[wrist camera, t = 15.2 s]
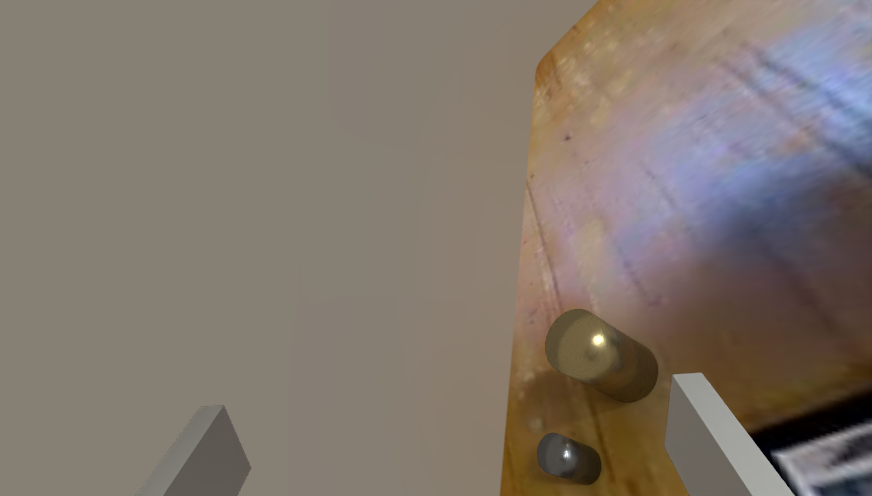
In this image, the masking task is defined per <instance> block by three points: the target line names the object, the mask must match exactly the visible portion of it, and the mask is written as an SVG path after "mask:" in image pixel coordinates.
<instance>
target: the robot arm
mask: <svg viewBox="0 0 872 496" xmlns="http://www.w3.org/2000/svg"><path fill="white" fill-rule="evenodd" d="M664 447H665V449H666V451H667V453H668V455H669V457H670V459H671V461H672V463H673V465H674V466H675V468H676V470H677V472H678V474H679V476H680V478H681V480H682V482H683V484H684V486H685V488H686V490H687V492H688V493H689V495H690V496H794V494H793V493H792V492H791V490H790V489H789V488H788V486H787V485H786V484H785V482H784V481H783V480H782V478H781V477H780V476H779V474H778V473H777V472H776V470H775V469H774V468H773V466H772V465H771V464H770V462H769V461H768V460H767V458H766V457H765V456H764V454H763V453H762V452H761V451H760V449H759V448H758V447H757V445H756V444H755V443H754V441H753V440H752V439H751V437H750V436H749V435H748V433H747V432H746V431H745V429H744V428H743V427H742V425H741V424H740V423H739V421H738V420H737V419H736V417H735V416H734V415H733V413H732V412H731V411H730V410H729V408H728V407H727V406H726V404H725V403H724V402H723V400H722V399H721V398H720V396H719V395H718V394H717V392H716V391H715V390H714V388H713V387H712V386H711V384H710V383H709V382H708V380H707V379H706V378H705V376H704V375H703V374H702V373H688V374H673V375H672V382H671V391H670V400H669V409H668V418H667V427H666V436H665V445H664ZM250 470H251V466H250V464H249V462H248V459H247V457H246V455H245V452H244V450H243V448H242V445H241V443H240V441H239V438H238V436H237V434H236V432H235V429H234V427H233V425H232V423H231V420H230V418H229V415H228V413H227V411H226V409H225V406H224V405H214V406H201V407H200V408H199V409H198V410H197V412H196V413H195V415H194V416H193V417H192V419H191V420H190V421H189V423H188V424H187V426H186V427H185V428H184V430H183V431H182V432H181V434H180V435H179V436H178V438H177V439H176V441H175V442H174V443H173V445H172V446H171V447H170V449H169V450H168V451H167V453H166V454H165V455H164V457H163V458H162V460H161V461H160V462H159V464H158V465H157V466H156V468H155V469H154V471H153V472H152V473H151V475H150V476H149V477H148V479H147V480H146V481H145V483H144V484H143V485H142V487H141V488H140V490H139V491H138V492H137V494H136V495H135V496H237V495H238V494H239V491H240V490H241V487H242V486H243V484H244V481H245V479H246V477H247V476H248V474H249V471H250Z"/></svg>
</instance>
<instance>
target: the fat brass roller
mask: <svg viewBox="0 0 872 496" xmlns="http://www.w3.org/2000/svg"><path fill="white" fill-rule="evenodd" d="M545 351H546V356H547V359H548V361H549V363H550V364H551V365H552V367H554V368H555V369H556V370H558V371H560V372H562V373H564V374H566V375H568V376H570V377H572V378H574V379H576V380H578V381H580V382H582V383H584V384H586V385H588V386H590V387H592V388H594V389H596V390H598V391H600V392H602V393H604V394H606V395H608V396H610V397H612V398H614V399H616V400H618V401H621V402H635V401H638V400H641V399H642V398H644V397H645V396H647V395H648V394H649V393H650V392H651V390H652V389H653V387H654V386H655V383H656V381H657V377H658V365H657V361H656V359H655V357H654V355H653V353H652V352H651V351H650V350H649V349H648V348H646V347H645V346H643V345H642V344H640V343H638V342H637V341H635V340H634V339H632V338H630V337H629V336H627V335H626V334H624V333H622V332H621V331H619V330H618V329H616V328H614V327H613V326H611V325H610V324H608V323H606V322H605V321H603V320H602V319H600V318H598V317H597V316H595V315H594V314H592V313H590V312H589V311H586V310H583V309H574V310H570V311H568V312H565V313H564V314H562V315H561V316H560V317H558V318H557V319H556V321H555V322H554V323H553V324H552V326H551V328H550V329H549V332H548V334H547V337H546V343H545Z"/></svg>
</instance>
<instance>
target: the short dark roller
mask: <svg viewBox="0 0 872 496" xmlns="http://www.w3.org/2000/svg"><path fill="white" fill-rule="evenodd" d="M537 457H538V462H539V464H540V466H541V468H542V469H543V470H544V471H545V472H547V473H549V474H552V475H555V476H558V477H562V478H565V479H568V480H571V481H574V482H577V483H580V484H583V485H590V484H592V483H594V482H595V481H596V480H597V479H598V477H599V475H600V472H601V460H600V457H599V455H598V453H597V452H596V450H595V449H593V448H592V447H590V446H587V445H585V444H582V443H580V442H577V441H575V440H572V439H569V438H567V437H564V436H562V435H559V434H557V433H549V434H547V435H545V436H544V437H543V438H542V440H541V441H540V443H539V446H538V451H537Z"/></svg>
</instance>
